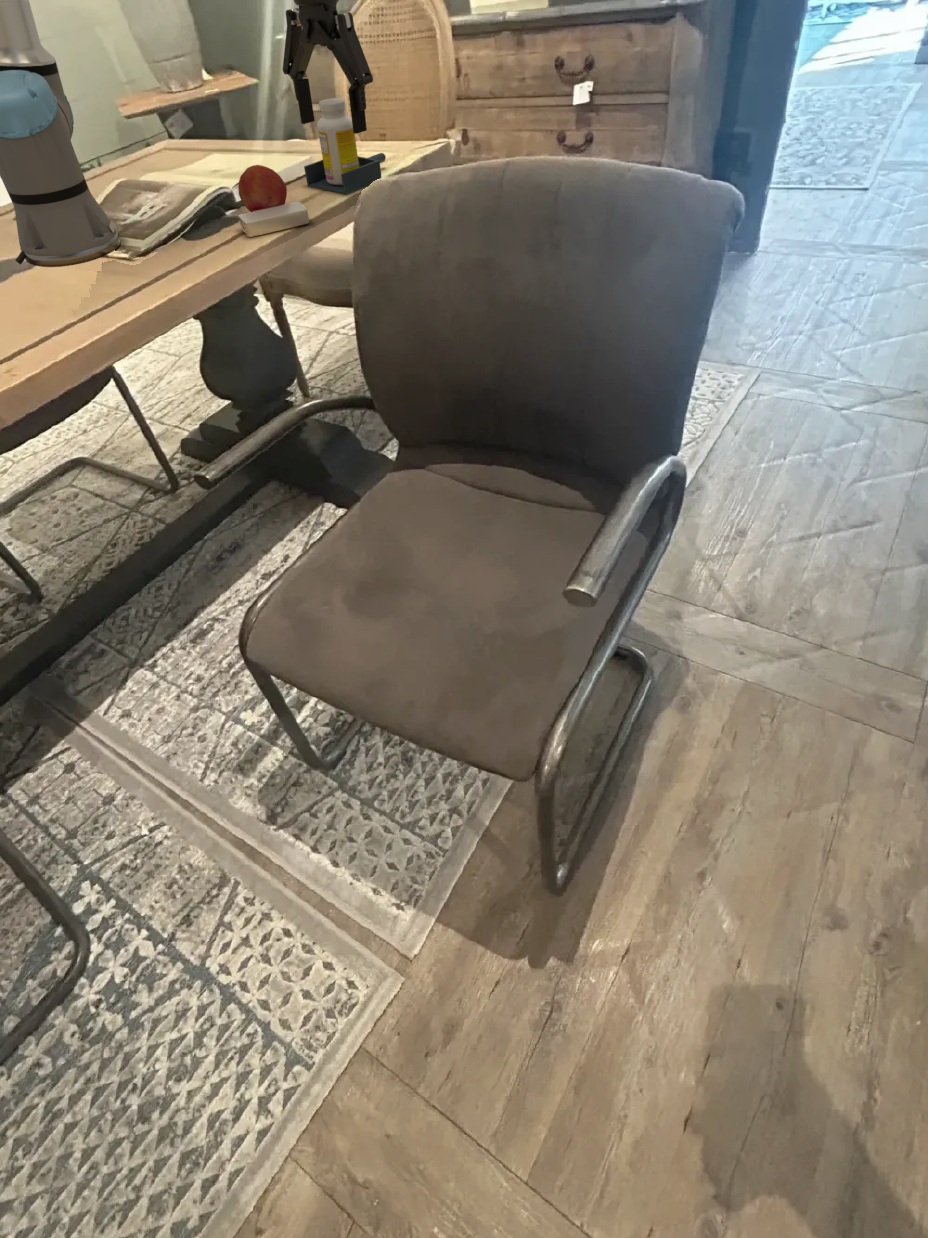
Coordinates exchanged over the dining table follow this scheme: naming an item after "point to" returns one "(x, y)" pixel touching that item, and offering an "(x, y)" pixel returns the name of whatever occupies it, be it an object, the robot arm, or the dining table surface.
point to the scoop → (346, 175)
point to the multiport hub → (273, 219)
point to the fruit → (261, 188)
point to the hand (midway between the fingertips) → (333, 127)
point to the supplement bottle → (336, 140)
